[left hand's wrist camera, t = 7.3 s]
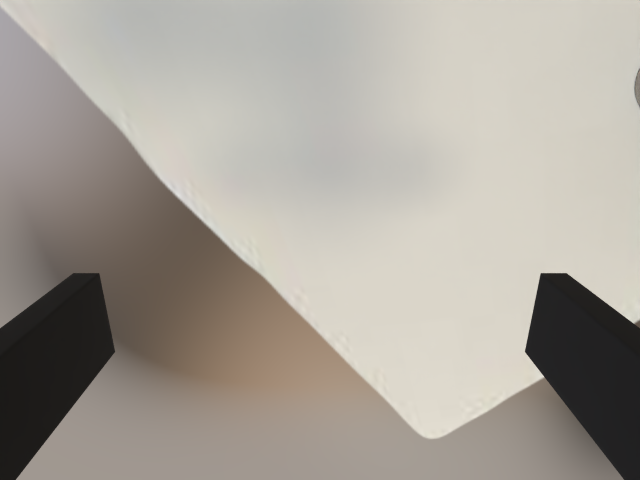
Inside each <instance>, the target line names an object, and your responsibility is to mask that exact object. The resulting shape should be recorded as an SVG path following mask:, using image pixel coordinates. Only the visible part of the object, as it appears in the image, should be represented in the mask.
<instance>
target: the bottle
mask: <svg viewBox="0 0 640 480" xmlns="http://www.w3.org/2000/svg"><path fill="white" fill-rule="evenodd" d="M635 95H636V99H637V102H638V104H639V106H640V69H639V72H638V74H637V77H636V82H635Z"/></svg>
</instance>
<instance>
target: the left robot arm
mask: <svg viewBox="0 0 640 480" xmlns="http://www.w3.org/2000/svg"><path fill="white" fill-rule="evenodd" d="M114 352H115V349H114V345H113V339H112V334H111V330H110V325H109V320H108V315H107V310H106V305H105V300H104V295H103V290H102V285H101V280H100V275H99V273H73V274H72V275H71V276H69V277H68V278H67V279H65V280H64V281H63V282H61V283H60V284H59V285H57V286H56V287H55V288H53V289H52V290H51V291H49V292H48V293H47V294H45V295H44V296H43V297H41V298H40V299H39V300H37V301H36V302H35V303H33V304H32V305H31V306H29V307H28V308H27V309H25V310H24V311H23V312H21V313H20V314H19V315H17V316H16V317H15V318H13V319H12V320H11V321H9V322H8V323H7V324H5V325H4V326H3V327H1V328H0V480H16V479H17V477H18V476H19V475H20V473H21V472H22V471H23V470H24V468H25V467H26V466H27V464H28V463H29V462H30V461H31V459H32V458H33V457H34V455H35V454H36V453H37V452H38V450H39V449H40V448H41V446H42V445H43V444H44V443H45V441H46V440H47V439H48V437H49V436H50V435H51V434H52V432H53V431H54V430H55V428H56V427H57V426H58V425H59V423H60V422H61V421H62V419H63V418H64V417H65V416H66V414H67V413H68V412H69V410H70V409H71V408H72V407H73V405H74V404H75V403H76V401H77V400H78V399H79V398H80V396H81V395H82V394H83V392H84V391H85V390H86V388H87V387H88V386H89V385H90V383H91V382H92V381H93V379H94V378H95V377H96V376H97V374H98V373H99V372H100V370H101V369H102V368H103V367H104V365H105V364H106V363H107V361H108V360H109V359H110V358H111V356H112V355H113V354H114ZM525 352H526V354H527V355H528V356H529V358H530V359H531V360H532V361H533V363H534V364H535V365H536V367H537V368H538V369H539V370H540V372H541V373H542V374H543V376H544V377H545V378H546V379H547V381H548V382H549V383H550V385H551V386H552V387H553V388H554V390H555V391H556V392H557V394H558V395H559V396H560V397H561V399H562V400H563V401H564V403H565V404H566V405H567V407H568V408H569V409H570V410H571V412H572V413H573V414H574V415H575V417H576V418H577V419H578V421H579V422H580V423H581V425H582V426H583V427H584V428H585V430H586V431H587V432H588V434H589V435H590V436H591V437H592V439H593V440H594V441H595V443H596V444H597V445H598V446H599V448H600V449H601V450H602V452H603V453H604V454H605V455H606V457H607V458H608V459H609V461H610V462H611V463H612V464H613V466H614V467H615V468H616V470H617V471H618V472H619V473H620V475H621V476H622V477H623V479H624V480H640V328H639V327H637V326H636V325H635V324H633V323H632V322H631V321H629V320H628V319H627V318H625V317H624V316H623V315H621V314H620V313H619V312H617V311H616V310H615V309H613V308H612V307H611V306H609V305H608V304H607V303H605V302H604V301H603V300H601V299H600V298H599V297H597V296H596V295H595V294H593V293H592V292H591V291H589V290H588V289H587V288H585V287H584V286H583V285H581V284H580V283H579V282H577V281H576V280H575V279H573V278H572V277H571V276H569V275H568V274H567V273H541V275H540V280H539V285H538V290H537V295H536V300H535V305H534V310H533V315H532V320H531V325H530V330H529V334H528V339H527V344H526V349H525Z"/></svg>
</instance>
